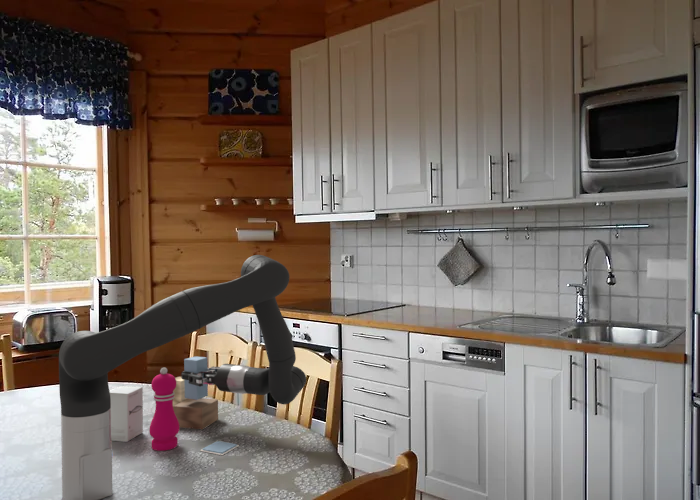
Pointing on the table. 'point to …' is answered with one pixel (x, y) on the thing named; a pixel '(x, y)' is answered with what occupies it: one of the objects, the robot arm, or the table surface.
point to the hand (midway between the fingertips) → (188, 373)
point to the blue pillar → (195, 366)
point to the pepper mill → (164, 413)
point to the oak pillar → (179, 391)
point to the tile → (219, 448)
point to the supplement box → (126, 413)
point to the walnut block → (196, 413)
